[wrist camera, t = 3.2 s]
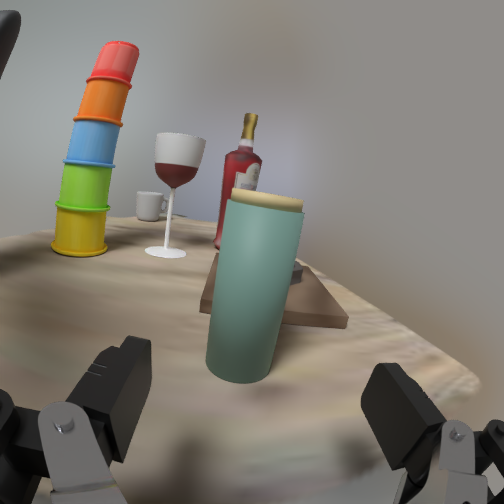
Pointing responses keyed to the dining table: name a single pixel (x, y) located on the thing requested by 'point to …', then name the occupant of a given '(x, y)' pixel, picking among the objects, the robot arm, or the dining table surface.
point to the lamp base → (295, 300)
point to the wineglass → (175, 175)
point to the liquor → (239, 170)
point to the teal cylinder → (252, 283)
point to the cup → (150, 205)
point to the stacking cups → (93, 153)
